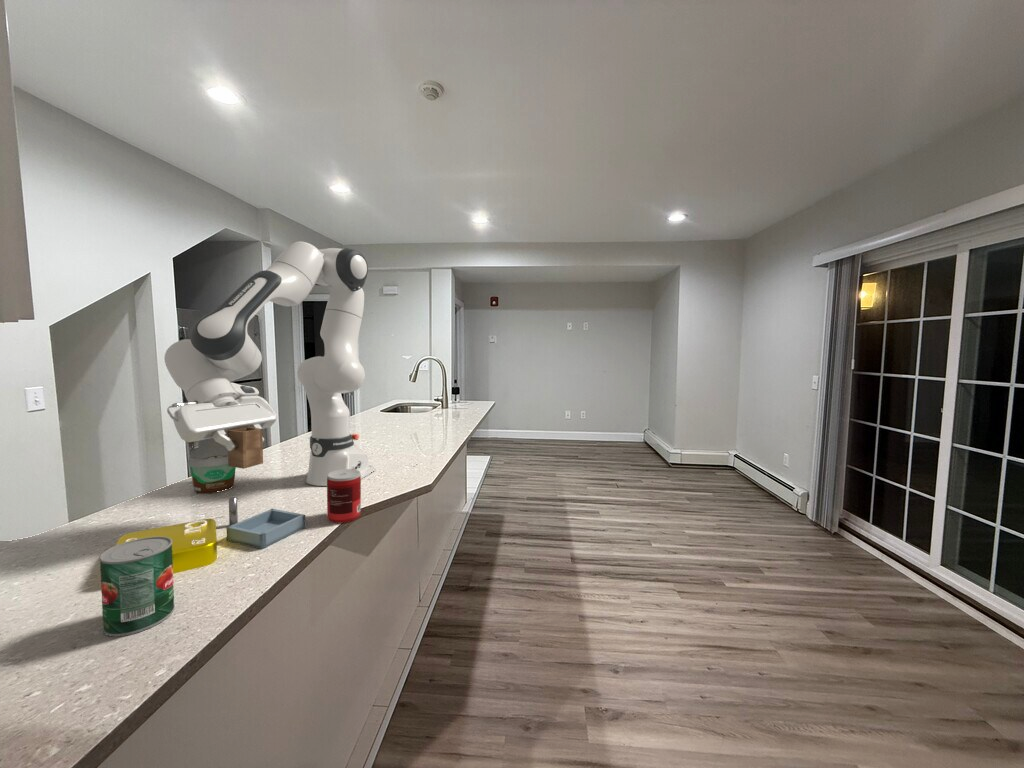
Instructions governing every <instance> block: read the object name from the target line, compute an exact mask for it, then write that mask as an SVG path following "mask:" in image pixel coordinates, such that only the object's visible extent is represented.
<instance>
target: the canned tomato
mask: <svg viewBox="0 0 1024 768" xmlns="http://www.w3.org/2000/svg"><path fill="white" fill-rule="evenodd" d="M172 559H173V556H172V539H171V538H168V537H162V536H157V537H147V538H141V539H136V540H132V541H128V542H125V543H122V544H119V545H117V546H116V545H114V546H113V547H110V548H109V549H107V550H105V551H103V552H102V553H101V554H100V556H99V563H100V564H99V566H100V567H99V568H100V569H99V570H100V587H101V590H100V591H101V609H102V611H101V612H102V613H101V614H102V632H103V631H104V632H103V634H104V633H105V635H106V634H107V635H106V636H108V635H111V636H110V637H114V636H117V637H125V635H126V636H130V635H134V634H137V633H141V632H144V631H147V630H149V629H151V628H153V627H154V626H157V625H158V624H161V623H162V622H164V621H166V620H167V619H168V618H169V617H171V616H172V614H173V613H174V612H175V611H174V610H175V594H174V593H175V590H174V588H175V586H174V574H173V560H172Z"/></svg>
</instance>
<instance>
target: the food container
mask: <svg viewBox="0 0 1024 768" xmlns="http://www.w3.org/2000/svg"><path fill="white" fill-rule="evenodd" d="M186 466H187V467H189V468H190V474H191V479H192V486H193V491H194V493H195V492H197V493H196V494H199V493H209V494H213V493H212V492H217V491H222V490H225V489H228V490H230V489H229V488H231V487H232V486H233V487H234V486H235V477H236V469H237V468H236V467H230V466H228V454H226V455H214V456H212V455H211V456H209V457H206V458H201V459H200V458H199V459H197V458H196V459H195V458H191V457H189V458H188V460H187V463H186ZM233 487H232V488H233ZM232 488H231V489H232ZM222 492H223V491H222ZM217 493H218V492H217Z"/></svg>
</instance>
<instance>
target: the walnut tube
mask: <svg viewBox="0 0 1024 768" xmlns="http://www.w3.org/2000/svg"><path fill="white" fill-rule="evenodd" d="M227 437H228V438H230V439H231V440H236V441H237V443H238V444H239V447H238V448H237V449H236V450H233V451H228V450H227V455H228V466H230V467H236V469H237V468H238V469H243V470H245V469H247V468H250V467H254V466H259V465H262V464H263V463H264V444H263V443H264V442H263V438H264V437H263V429H260V428H251V427H245V428H239V429H233V430H228V435H227Z"/></svg>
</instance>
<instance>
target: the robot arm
mask: <svg viewBox="0 0 1024 768" xmlns="http://www.w3.org/2000/svg"><path fill="white" fill-rule="evenodd" d="M269 265H270V266H269V267H268V268H267V269H265V270H260V271H258V272H256V273H255V274H252V276H250V277H249V278H248V279H246V281H244V282H243V284H241V285H240V286H239V287H238V288H237V289H236V290H235V291H234V292H233V293H232V294H231V295H230V296H228V298H227V299H226V300H224V301H223V302H222V303H221V304H220V305H219V306H218V307H216V308H215V309H213V310H212V311H210V312H209V313H207V314H205V315H204V316H203V317H200V318H199V319H198V320H197V321H196V322H195V323H194V324H193V326H192V327H191V330H190V334H189V337H190V338H186V339H185V338H184V339H180V340H177V341H176V342H174V343H173V344H171V345H170V346H169V347H168V348H167V349H166V350H165V352H164V353H165V354H164V363H165V367H166V369H167V371H168V373H169V375H170V376H171V378H172V379H173V381H174V383H175V384H176V386H178V388H180V389H181V390H182V391H183V393H184V397H185V399H186V400H187V401H185V402H175V403H172V404H171V405H170V406H168V407H167V408H166V409H167V411H166V412H167V414H168V416H169V417H170V418H171V420H173V423H174V426H175V429H176V431H177V433H178V435H179V437H180V439H182V440H183V441H184V442H187V443H194V442H198V441H204V440H210V439H213V441H214V442H216V443H218V444H220V445H222V446H224V447H225V448H226V449H227V452H228V451H233V450H236V449H237V448H238V447H239V444H238V443H237V441H236V440H231V439H230V438H228V430H233V429H239V428H245V427H251V428H260V429H262V430H264V429H269V428H271V427H272V426H273V425H274V424H275V422H276V421H277V418H278V415H277V413H276V411H275V410H274V409H273V407H272V406H271V405H270V403H269V402H268V401H267V400H266V399H265V398H263V397H262V396H260V392H259V390H258V389H257V388H256V387H253V386H248V385H242V384H238V383H235V382H236V381H238V380H241V379H243V378H246V377H248V376H250V375H253V374H254V373H256V372H257V370H258V369H259V368H260V366H261V365H262V363H263V354H262V352H261V351H260V349H259V347H258V346H257V345H256V343H255V341H253V339H252V338H251V337H250V335H249V334H248V326H249V323H250V321H252V319H253V318H254V317H255V316H256V315H257V314H258V313H259V311H261V309H262V308H263V307H264V306H265V305H266V304H267V303H269V302H271V303H273V304H276V305H279V306H282V307H294V306H298V305H300V304H301V303H303V301H304V300H306V298H307V297H308V296H309V294H310V293H311V291H312V290H313V288H314V287H315V286H327V287H328V290H329V297H328V300H327V303H326V307H325V310H324V314H323V319H322V324H321V327H320V332H319V334H320V337H321V340H322V341H323V345H324V355H323V356H321V355H318V356H313V357H310V358H308V359H305V360H303V361H302V362H301V363H299V365H298V368H297V378H298V380H299V382H300V383H301V385H302V387H303V388H304V390H305V394H306V398H307V400H308V403H309V409H310V418H311V419H310V420H311V421H310V423H311V424H310V425H311V428H310V429H311V435H310V437H309V448H310V452H309V460H308V469H307V472H306V479H305V482H306V483H307V484H308V485H311V486H316V487H317V486H318V487H327V475H328V474H329V473H330V472H333V471H336V470H342V469H354V470H358V471H360V474H361V480H363V479H365V478H366V477H367V476H369V475H371V474H372V473H373V471H374V472H375V471H376V470H377V469H376V466H374V465H371V464H369V457H368V454H367V453H366V452H365V451H364V450H362V449H360V448H359V447H358V446H357V445H355V443H354V440H355V441H358V440H359V438H360V435H359V433H351V426H350V425H351V423H350V422H351V420H350V419H351V414H350V409H349V407H348V406H347V404H346V403H345V401H344V399H343V396H342V394H347V393H351V392H352V393H353V392H355V391H358V390H359V389H361V388H362V386H363V384H364V383H365V380H366V371H365V369H364V367H363V365H362V364H361V361H360V359H359V350H358V349H359V347H358V344H359V343H358V342H359V335H360V330H361V327H362V326H361V325H362V321H363V316H364V309H365V291H364V290H363V287H364V285H365V283H366V279H367V277H368V272H369V266H368V263H367V260H366V257H365V255H363V253H362V252H360V251H358V250H356V249H353V248H338V247H329V248H321V249H319V248H317V247H316V246H315V245H313V244H312V243H310V242H306V241H296V242H293V243H292V244H290V245H289V246H287V247H286V248H285V249H284V250H283V251H282V252H280V254H279V255H278V256H277V257H276V258H275V259H274V260H273V262H272V263H271V264H269ZM182 440H181V441H182ZM264 442H265V438H264V437H263V443H264ZM371 472H372V473H371ZM365 476H366V477H365Z"/></svg>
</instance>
